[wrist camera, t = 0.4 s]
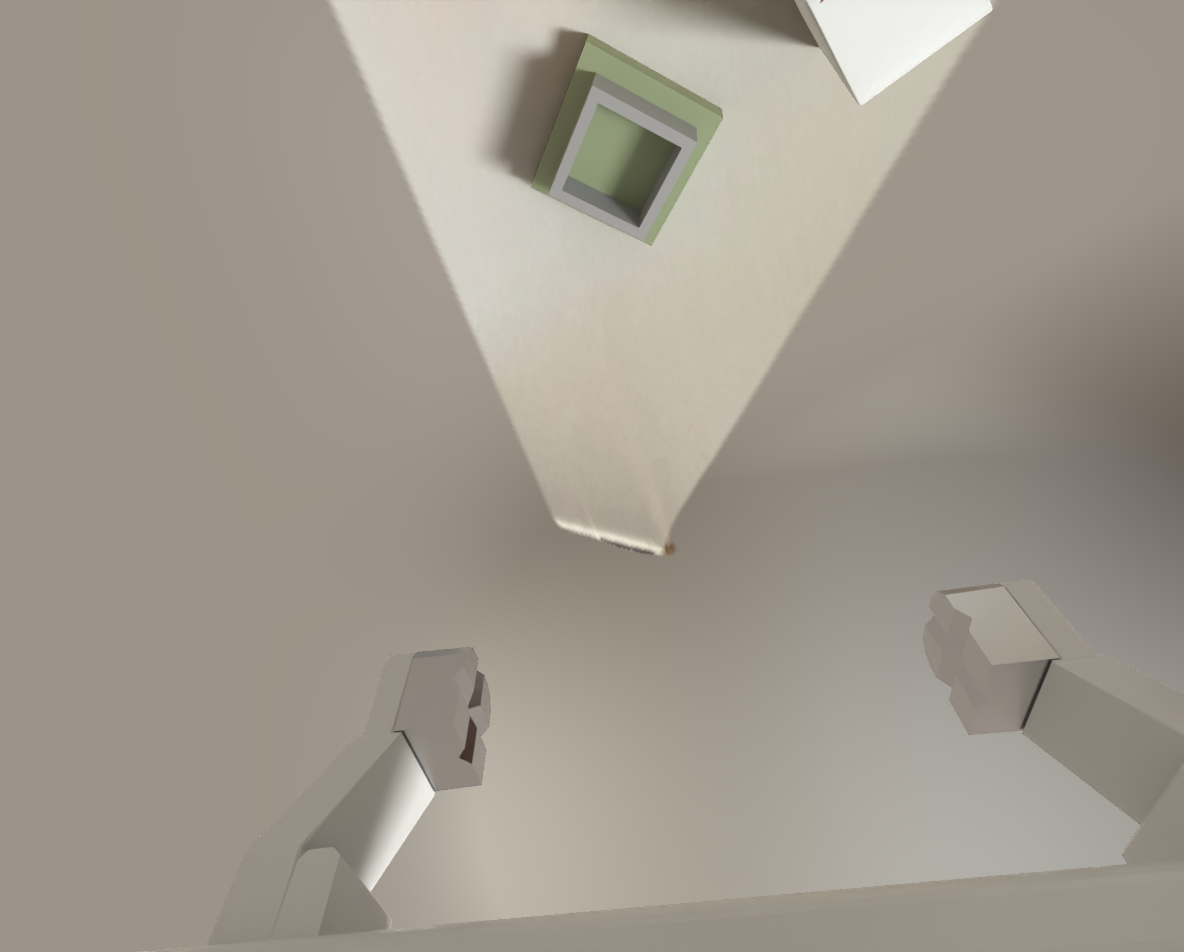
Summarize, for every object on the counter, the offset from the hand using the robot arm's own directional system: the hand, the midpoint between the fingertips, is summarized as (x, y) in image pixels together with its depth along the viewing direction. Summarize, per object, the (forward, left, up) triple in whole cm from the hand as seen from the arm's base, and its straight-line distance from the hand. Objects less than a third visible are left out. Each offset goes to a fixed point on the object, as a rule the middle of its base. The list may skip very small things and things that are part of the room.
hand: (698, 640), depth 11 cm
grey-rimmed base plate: (+9, +3, -48) cm, 48 cm away
